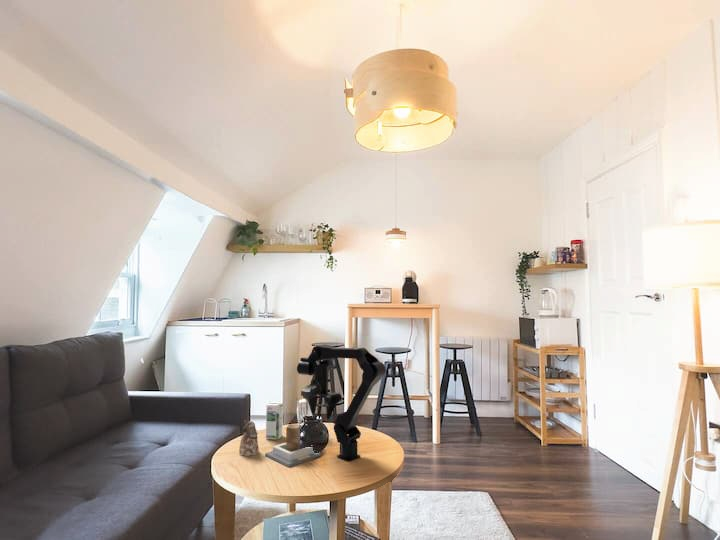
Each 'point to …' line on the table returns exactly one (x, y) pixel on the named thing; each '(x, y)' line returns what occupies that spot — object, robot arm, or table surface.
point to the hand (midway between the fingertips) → (320, 416)
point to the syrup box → (274, 420)
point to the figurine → (249, 440)
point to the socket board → (291, 455)
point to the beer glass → (303, 410)
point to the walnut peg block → (293, 437)
